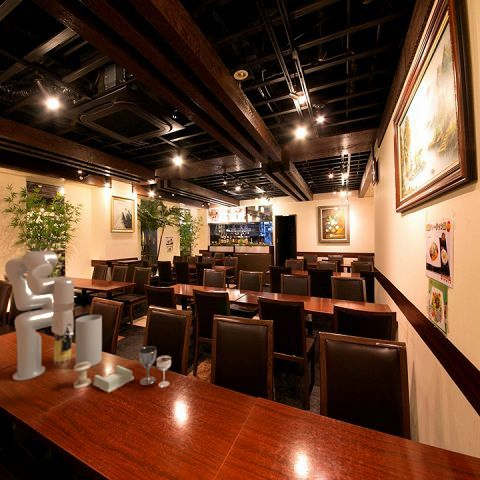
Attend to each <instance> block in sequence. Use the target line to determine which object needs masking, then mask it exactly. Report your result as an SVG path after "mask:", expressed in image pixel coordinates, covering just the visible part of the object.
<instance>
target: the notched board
mask: <svg viewBox="0 0 480 480" xmlns="http://www.w3.org/2000/svg"><path fill="white" fill-rule="evenodd" d="M115 367H116V368H115V372H113V373H111V374H109V375H107V376H105V377H103V376H101V375H99V374H96V375H94V382H93V386H95V387H97V388H98V387H99V389H101V390H103V391H105V392H106V393H108V394H109V393H110V392H113V391H115V390H117V389H118V388H120V387H122V386H124V385H125V383H126V384H128V383H130V382H131V381H133V380H134V379H135V377H134V376H133V370H131V369H129V368H126V367H124V366H120V365H119V364H118V365H116V366H115ZM129 381H130V382H129ZM127 382H128V383H127Z"/></svg>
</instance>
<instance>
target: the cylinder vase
mask: <svg viewBox="0 0 480 480" xmlns="http://www.w3.org/2000/svg"><path fill="white" fill-rule="evenodd" d="M102 319H103V316H102V315H101V314H89V315H88V314H87V315H82V316H80V317H78V318H76V319H75V365H76V364H79V363H82V362H90V363H91V367H94V366H97V365H99V364H100V363H101V361H102V360H103V356H102V355H103V353H102V352H103V351H102V350H103V348H102V347H103V323H102V321H103V320H102ZM91 367H90V368H91Z"/></svg>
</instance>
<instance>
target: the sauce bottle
mask: <svg viewBox="0 0 480 480" xmlns="http://www.w3.org/2000/svg"><path fill="white" fill-rule="evenodd" d="M66 333H68V332H66ZM66 333H65V334H66ZM65 336H66V337H67V336H68V335H65ZM63 341H64V340H63V335H62V336H60V335H58V334H55V333H54V346H53V347H54V350H53V364H54V365H55V366H62V365H65V364H68V363H70V361H71V358H72V348H71V349H68V350H65V351H63V350H62V348H63ZM72 343H73V339H72V340H71V347H72V346H73V344H72Z"/></svg>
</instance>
